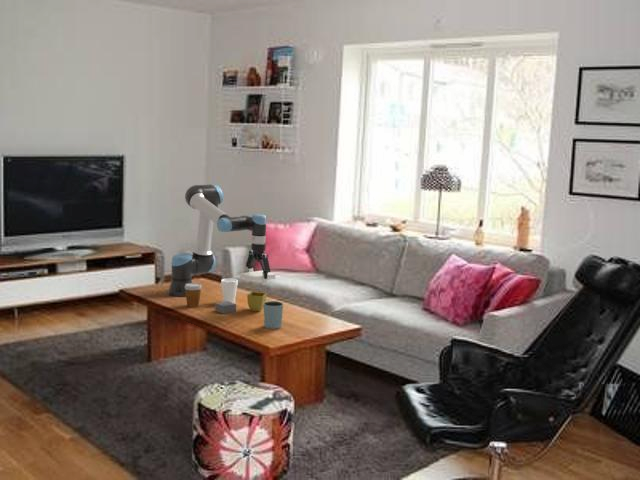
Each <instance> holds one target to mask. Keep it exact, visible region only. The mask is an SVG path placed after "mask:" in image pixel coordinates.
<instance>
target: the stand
mask: <svg viewBox="0 0 640 480" xmlns="http://www.w3.org/2000/svg"><path fill="white" fill-rule="evenodd" d="M214 304H215V308H214V309H215V311H216V312H218V313H221V314H229V313H235V312H237V304H236V303H231V302H229V301H226V302H223V301H221V302H215V303H214Z"/></svg>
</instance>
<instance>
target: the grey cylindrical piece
mask: <svg viewBox="0 0 640 480" xmlns="http://www.w3.org/2000/svg"><path fill="white" fill-rule="evenodd" d="M283 308H284V303H283V302H281V301H276V300H275V301H273V300H271V301H265V303H263V308H262V309H263V319H264V321H263V322H264V323H263V325H264V327H265V328H266V329H269V330H279V329H281V328H282V323H283V320H282V319H283V314H284V313H283V312H284V311H283V310H284V309H283Z"/></svg>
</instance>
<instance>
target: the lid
mask: <svg viewBox="0 0 640 480" xmlns="http://www.w3.org/2000/svg"><path fill="white" fill-rule="evenodd" d="M262 273H263V270H255V271H254V270H253V272H248V271H247V272H240V273H239V278H240V279H243V280H246V281H249V282H252V283H253V282H262ZM270 280H276V274H275V273H272V272H268V276H267V281H270Z"/></svg>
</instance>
